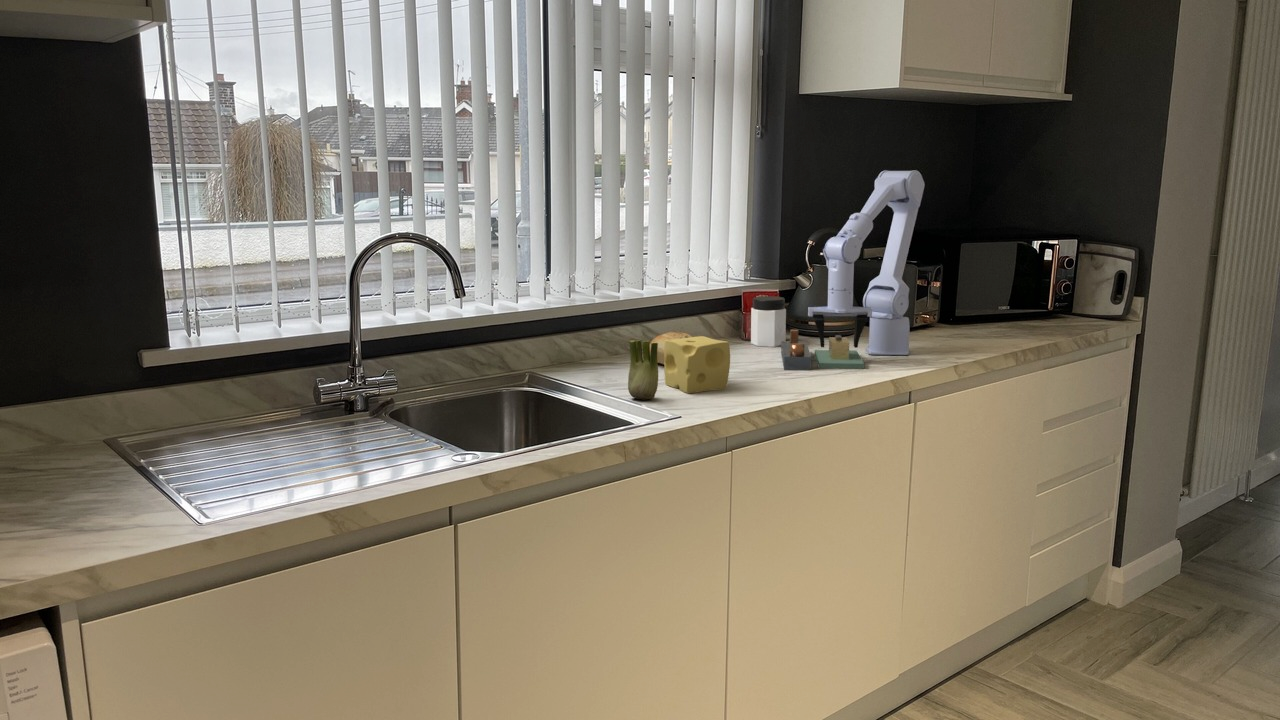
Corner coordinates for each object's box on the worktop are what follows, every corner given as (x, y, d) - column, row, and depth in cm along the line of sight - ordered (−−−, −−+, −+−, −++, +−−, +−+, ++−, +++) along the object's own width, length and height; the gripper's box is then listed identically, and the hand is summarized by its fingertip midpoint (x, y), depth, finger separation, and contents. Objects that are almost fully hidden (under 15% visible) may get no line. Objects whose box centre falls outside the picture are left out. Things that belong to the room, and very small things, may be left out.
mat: (856, 355, 236) (856, 350, 236) (863, 368, 221) (864, 363, 221) (814, 354, 238) (814, 350, 237) (819, 368, 222) (819, 363, 222)
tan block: (828, 353, 233) (829, 334, 232) (845, 353, 232) (846, 334, 231) (831, 359, 226) (831, 339, 225) (848, 359, 225) (849, 340, 224)
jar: (769, 348, 246) (770, 301, 244) (744, 344, 252) (745, 298, 250) (791, 343, 252) (792, 297, 250) (766, 340, 258) (767, 295, 256)
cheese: (687, 394, 198) (687, 346, 196) (662, 384, 208) (661, 338, 206) (730, 388, 203) (731, 341, 201) (703, 379, 212) (703, 334, 211)
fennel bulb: (661, 399, 194) (661, 340, 192) (643, 403, 191) (642, 343, 189) (642, 394, 199) (641, 336, 196) (623, 398, 195) (622, 339, 193)
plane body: (781, 353, 240) (781, 329, 239) (805, 353, 240) (806, 329, 239) (784, 369, 221) (784, 343, 220) (810, 370, 220) (811, 343, 219)
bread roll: (668, 359, 235) (667, 326, 234) (711, 368, 224) (711, 334, 222) (637, 364, 229) (637, 331, 228) (680, 374, 218) (680, 339, 216)
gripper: (809, 291, 223) (808, 349, 225) (874, 291, 221) (872, 350, 224) (808, 287, 230) (806, 344, 232) (870, 287, 228) (868, 344, 231)
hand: (838, 346), depth 229 cm, fingers open, 7 cm apart
